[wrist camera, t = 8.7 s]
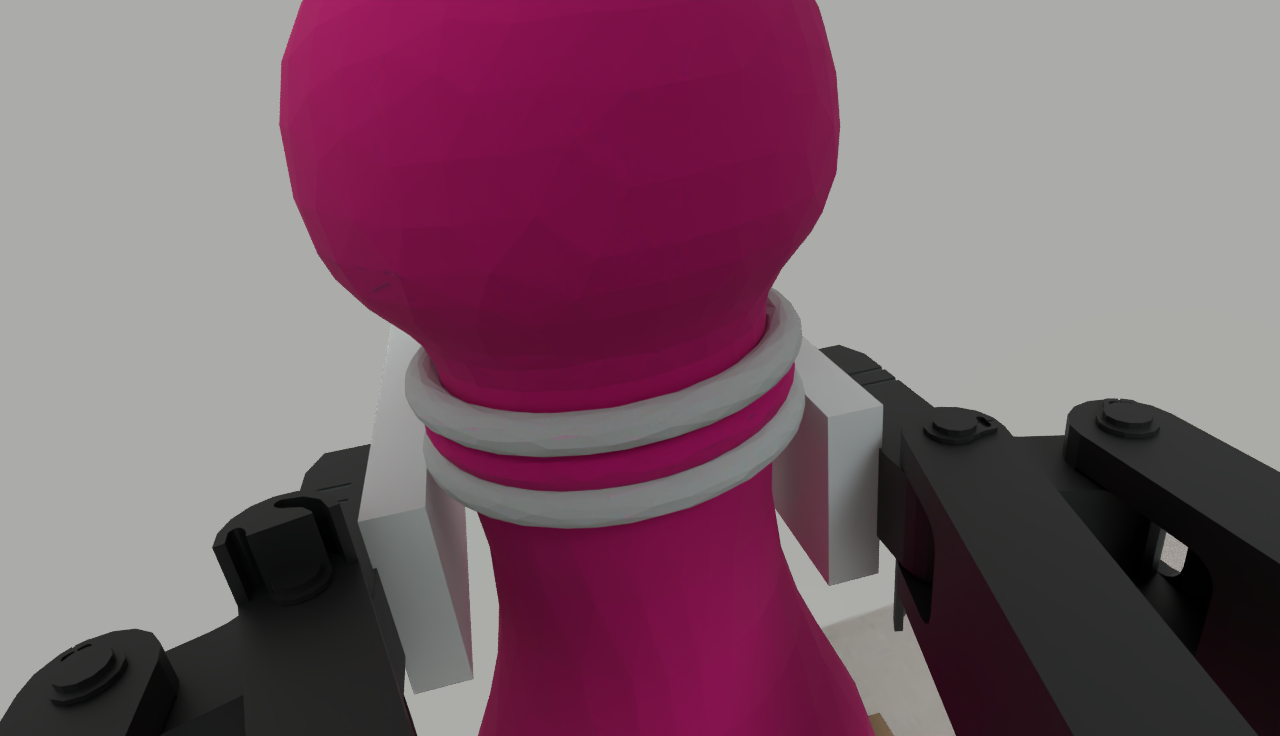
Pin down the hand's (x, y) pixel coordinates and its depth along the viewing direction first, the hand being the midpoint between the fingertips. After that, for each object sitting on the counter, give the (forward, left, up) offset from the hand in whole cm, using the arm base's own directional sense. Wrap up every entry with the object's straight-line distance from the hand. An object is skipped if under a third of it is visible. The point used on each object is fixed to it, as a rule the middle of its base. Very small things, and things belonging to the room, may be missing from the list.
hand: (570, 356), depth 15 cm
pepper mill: (0, +5, -11) cm, 12 cm away
